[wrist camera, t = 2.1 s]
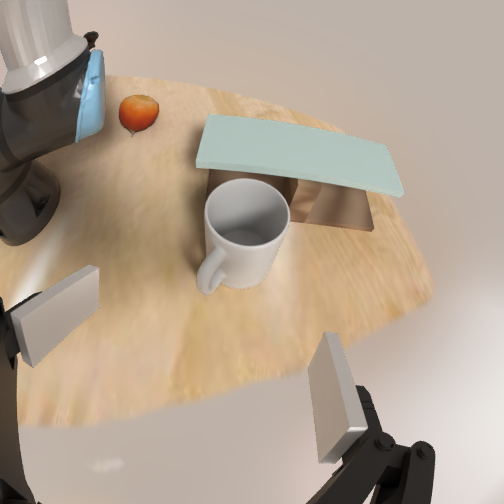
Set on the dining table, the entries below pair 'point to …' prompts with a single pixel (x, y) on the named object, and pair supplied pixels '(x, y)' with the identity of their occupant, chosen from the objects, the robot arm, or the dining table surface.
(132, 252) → the dining table surface
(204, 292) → the mug
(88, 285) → the robot arm
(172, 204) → the dining table surface
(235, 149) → the plank
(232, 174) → the fulcrum stand
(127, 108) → the fruit
